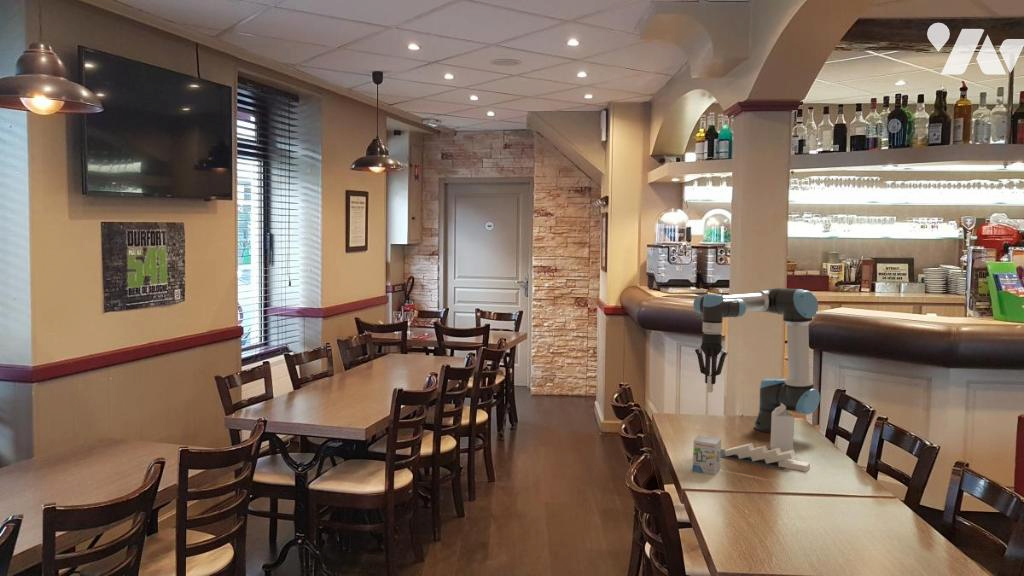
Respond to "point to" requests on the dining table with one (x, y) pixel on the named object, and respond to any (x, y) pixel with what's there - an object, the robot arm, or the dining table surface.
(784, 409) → the milk carton
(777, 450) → the domino
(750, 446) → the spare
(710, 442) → the ink box
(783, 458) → the domino
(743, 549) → the dining table surface
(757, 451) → the domino
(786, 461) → the domino
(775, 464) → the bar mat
